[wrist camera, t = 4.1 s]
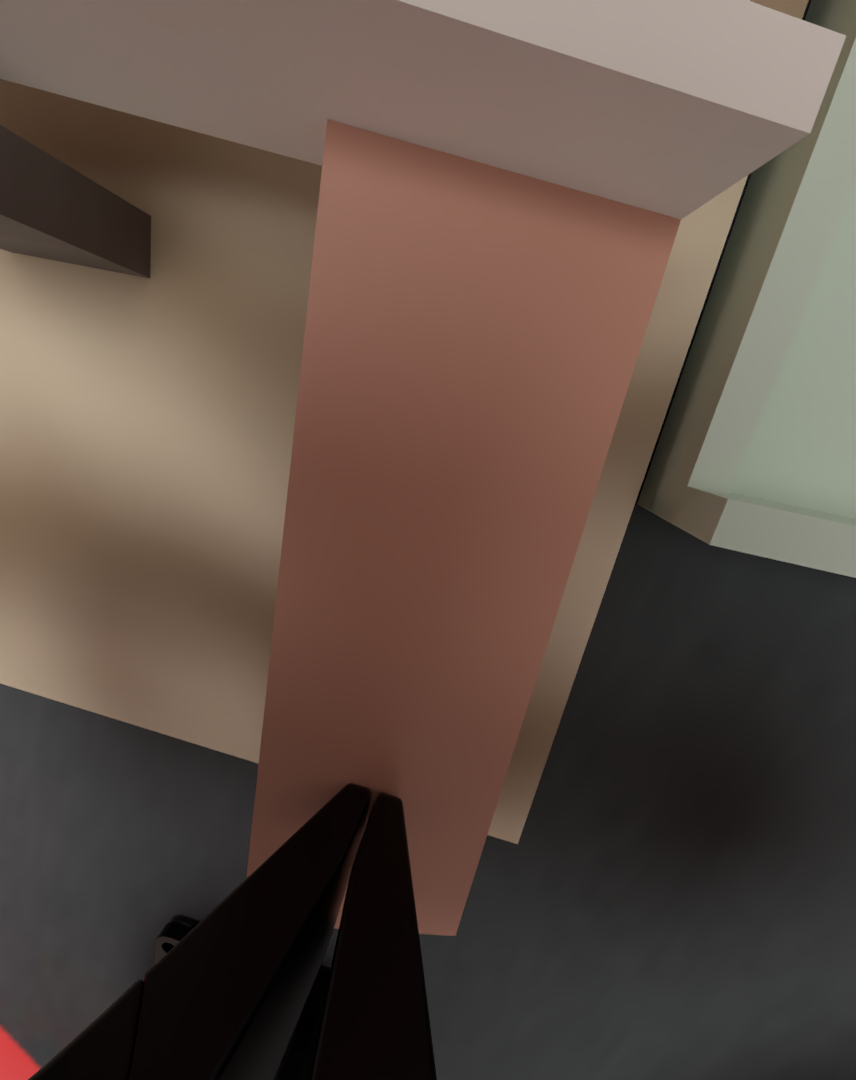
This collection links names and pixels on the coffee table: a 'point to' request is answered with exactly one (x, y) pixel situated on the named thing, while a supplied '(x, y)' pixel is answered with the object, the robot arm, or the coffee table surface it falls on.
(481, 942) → the coffee table surface
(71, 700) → the lever stand
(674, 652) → the coffee table surface
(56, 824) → the coffee table surface
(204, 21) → the lever
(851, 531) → the tray
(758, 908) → the coffee table surface
